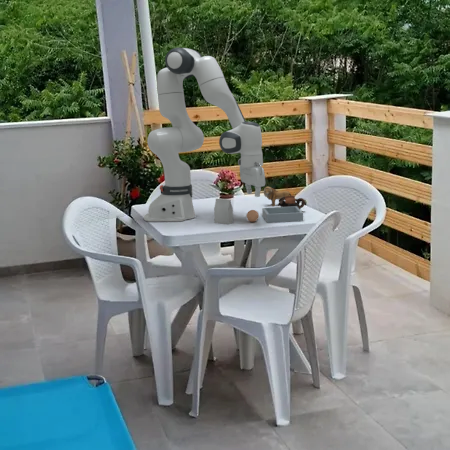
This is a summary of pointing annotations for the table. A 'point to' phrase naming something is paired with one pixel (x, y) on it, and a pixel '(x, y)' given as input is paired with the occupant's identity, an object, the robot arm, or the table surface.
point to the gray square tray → (282, 214)
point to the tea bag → (223, 211)
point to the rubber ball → (252, 215)
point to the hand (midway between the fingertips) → (253, 195)
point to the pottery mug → (291, 202)
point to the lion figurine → (274, 194)
